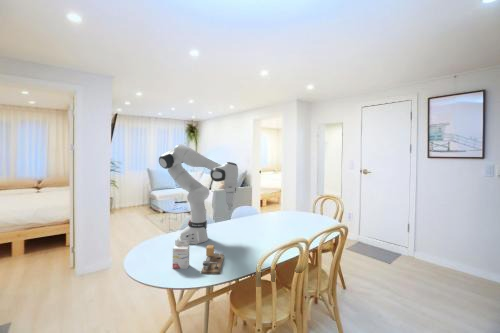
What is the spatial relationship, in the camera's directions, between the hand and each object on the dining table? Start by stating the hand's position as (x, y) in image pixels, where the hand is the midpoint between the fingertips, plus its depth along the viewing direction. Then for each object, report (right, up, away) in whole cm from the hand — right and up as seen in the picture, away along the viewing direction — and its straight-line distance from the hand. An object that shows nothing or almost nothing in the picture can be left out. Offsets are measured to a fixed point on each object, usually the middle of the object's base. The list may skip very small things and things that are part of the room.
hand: (230, 208), depth 160 cm
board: (-9, -30, -16) cm, 35 cm away
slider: (-10, -28, -10) cm, 31 cm away
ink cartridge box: (-27, -30, -20) cm, 45 cm away
